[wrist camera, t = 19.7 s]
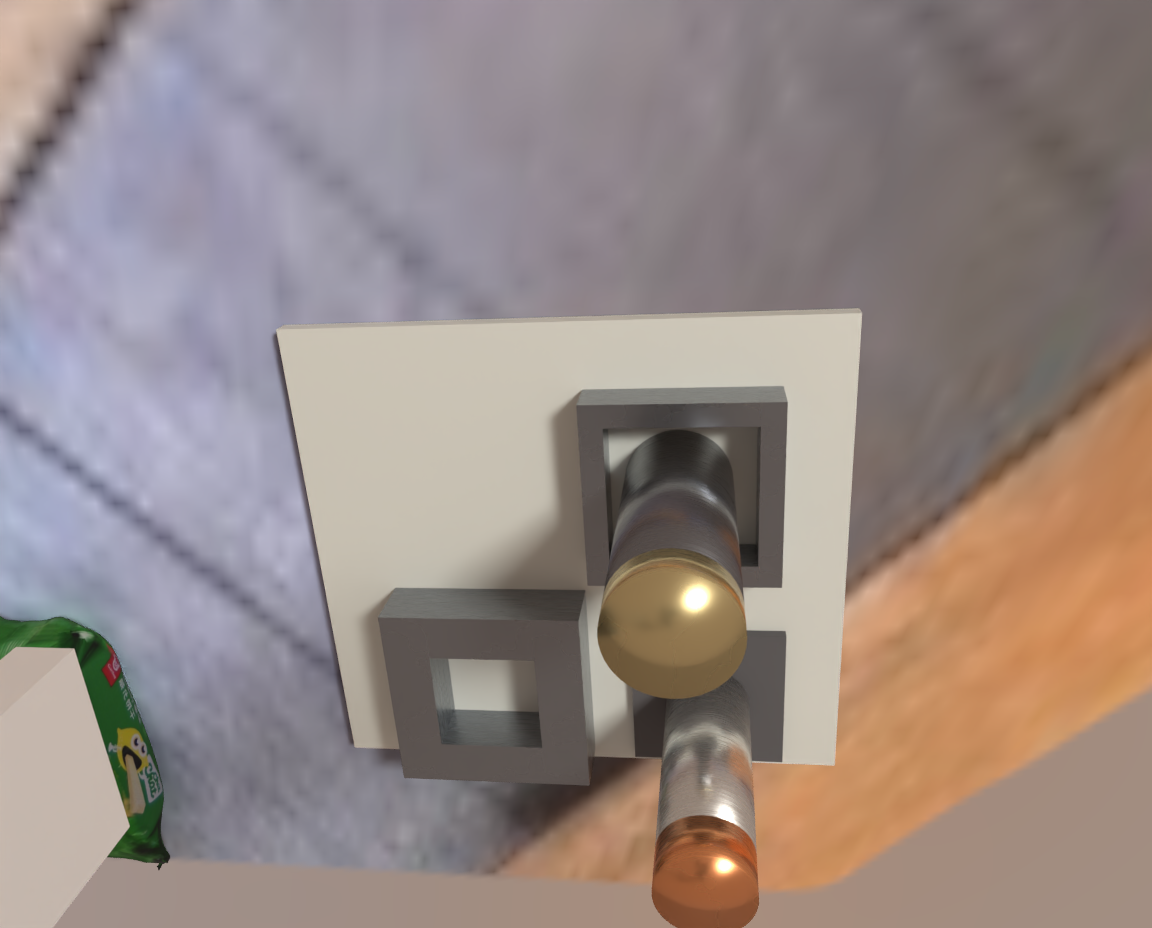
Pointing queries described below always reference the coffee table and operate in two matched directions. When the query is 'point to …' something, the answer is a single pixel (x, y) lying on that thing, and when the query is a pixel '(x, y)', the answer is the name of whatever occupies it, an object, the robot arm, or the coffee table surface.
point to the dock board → (558, 483)
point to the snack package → (108, 728)
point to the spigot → (675, 571)
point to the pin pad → (764, 692)
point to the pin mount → (490, 632)
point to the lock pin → (707, 813)
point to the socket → (686, 411)
